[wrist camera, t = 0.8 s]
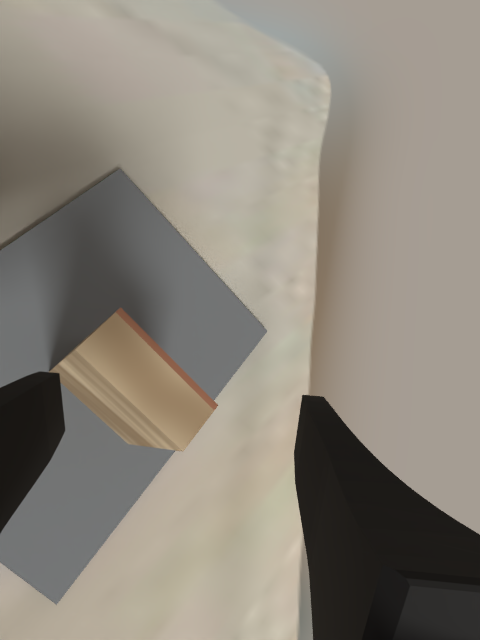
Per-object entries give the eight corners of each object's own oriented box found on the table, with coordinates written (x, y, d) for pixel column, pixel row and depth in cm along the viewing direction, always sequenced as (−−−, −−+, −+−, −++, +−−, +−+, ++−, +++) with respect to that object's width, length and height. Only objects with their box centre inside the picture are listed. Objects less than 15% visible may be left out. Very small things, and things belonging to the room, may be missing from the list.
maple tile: (128, 444, 24) (183, 451, 17) (49, 371, 23) (75, 349, 16) (156, 410, 25) (218, 405, 19) (83, 340, 24) (120, 307, 17)
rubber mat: (55, 601, 21) (56, 604, 21) (-213, 399, 18) (-217, 399, 17) (264, 332, 31) (267, 331, 31) (118, 171, 28) (120, 168, 27)
